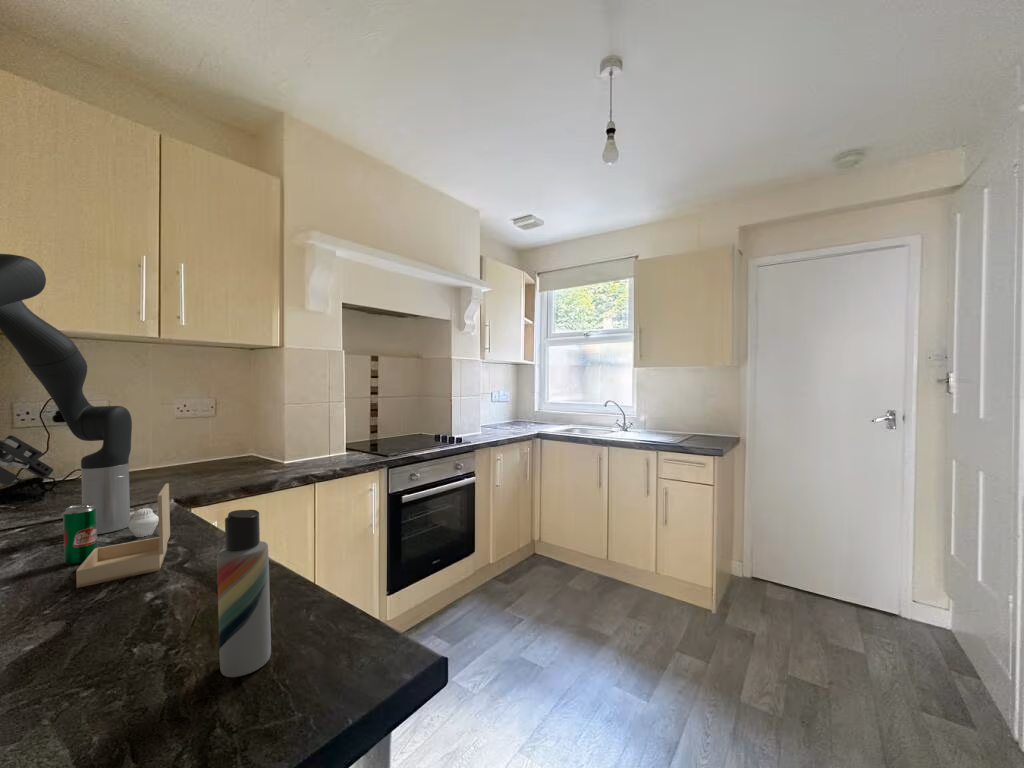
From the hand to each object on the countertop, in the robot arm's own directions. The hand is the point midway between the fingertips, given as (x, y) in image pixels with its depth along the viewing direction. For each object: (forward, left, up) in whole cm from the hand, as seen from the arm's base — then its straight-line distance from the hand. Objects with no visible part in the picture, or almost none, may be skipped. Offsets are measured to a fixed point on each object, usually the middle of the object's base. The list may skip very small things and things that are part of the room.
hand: (30, 477), depth 84 cm
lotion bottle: (+58, +34, -20) cm, 70 cm away
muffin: (-19, +15, -20) cm, 31 cm away
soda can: (-5, +6, -20) cm, 22 cm away
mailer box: (+5, +15, -20) cm, 25 cm away
